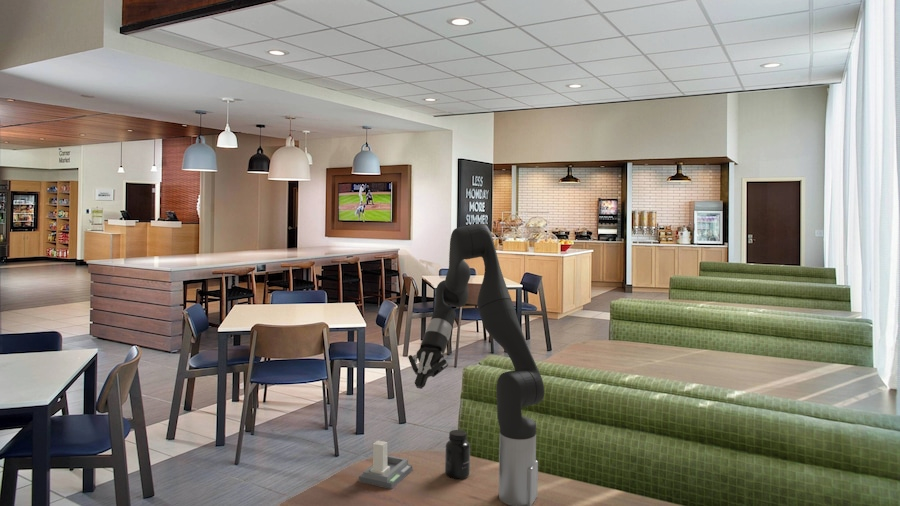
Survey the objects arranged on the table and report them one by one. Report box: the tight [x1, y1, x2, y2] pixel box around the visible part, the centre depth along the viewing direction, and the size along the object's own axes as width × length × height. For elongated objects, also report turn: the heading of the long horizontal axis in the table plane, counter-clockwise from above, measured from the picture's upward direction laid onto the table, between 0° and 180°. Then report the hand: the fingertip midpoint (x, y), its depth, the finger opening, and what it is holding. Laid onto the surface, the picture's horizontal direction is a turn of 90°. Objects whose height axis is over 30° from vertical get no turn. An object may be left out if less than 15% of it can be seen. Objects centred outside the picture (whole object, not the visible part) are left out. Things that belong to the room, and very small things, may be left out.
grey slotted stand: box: [358, 454, 413, 490], centre depth 168 cm, size 10×12×3 cm
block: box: [370, 440, 390, 475], centre depth 164 cm, size 4×4×9 cm
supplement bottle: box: [444, 429, 471, 480], centre depth 168 cm, size 7×7×12 cm
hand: (418, 387), depth 176 cm, fingers closed
